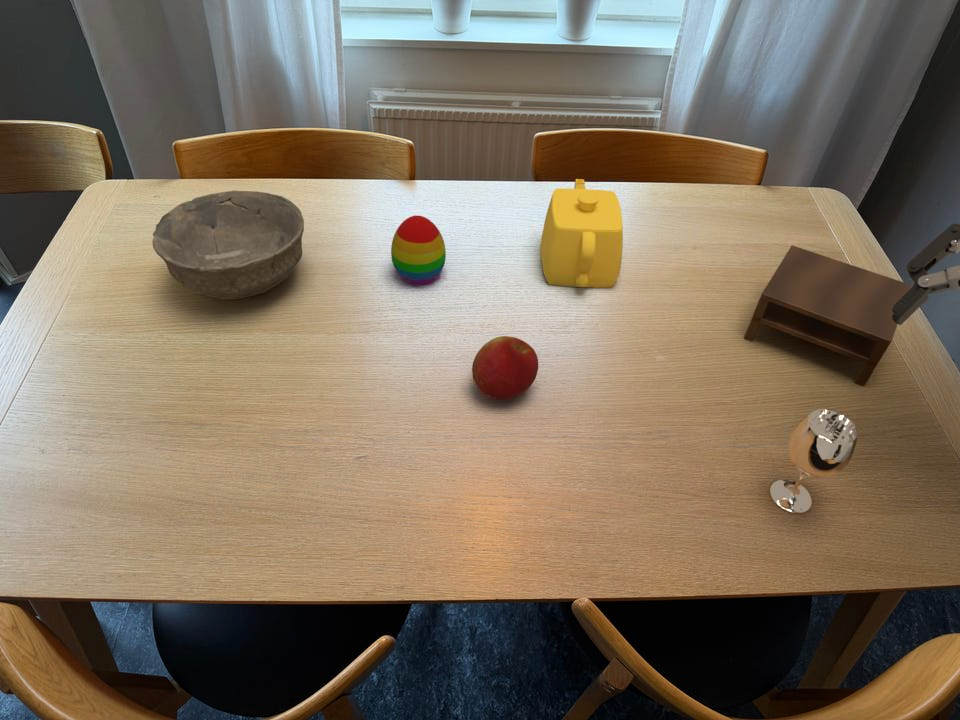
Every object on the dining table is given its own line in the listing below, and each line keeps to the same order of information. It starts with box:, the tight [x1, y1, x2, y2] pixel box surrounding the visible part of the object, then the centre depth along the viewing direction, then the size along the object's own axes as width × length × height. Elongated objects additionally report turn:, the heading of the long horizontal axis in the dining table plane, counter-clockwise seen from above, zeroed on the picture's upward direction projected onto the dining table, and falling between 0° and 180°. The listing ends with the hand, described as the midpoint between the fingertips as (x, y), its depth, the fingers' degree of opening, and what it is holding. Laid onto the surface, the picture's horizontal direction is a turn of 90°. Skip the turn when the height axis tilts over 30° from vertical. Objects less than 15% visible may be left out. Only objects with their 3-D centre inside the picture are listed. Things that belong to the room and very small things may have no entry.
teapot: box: [540, 178, 624, 289], centre depth 101 cm, size 20×12×12 cm, turn 177°
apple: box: [471, 335, 539, 401], centre depth 82 cm, size 8×8×8 cm
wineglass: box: [769, 408, 859, 514], centre depth 69 cm, size 6×6×12 cm
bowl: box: [151, 190, 305, 300], centre depth 96 cm, size 21×21×10 cm
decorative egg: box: [390, 215, 447, 285], centre depth 98 cm, size 8×8×10 cm
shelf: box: [743, 244, 912, 387], centre depth 91 cm, size 16×14×8 cm
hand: (934, 347), depth 64 cm, fingers open, 8 cm apart
